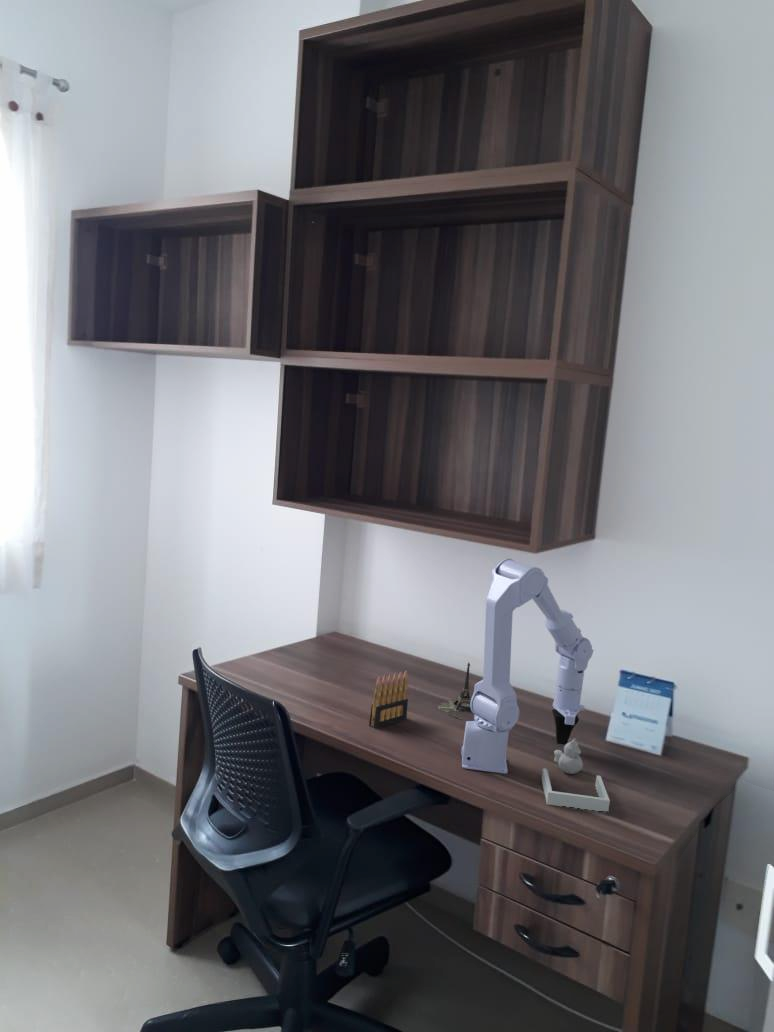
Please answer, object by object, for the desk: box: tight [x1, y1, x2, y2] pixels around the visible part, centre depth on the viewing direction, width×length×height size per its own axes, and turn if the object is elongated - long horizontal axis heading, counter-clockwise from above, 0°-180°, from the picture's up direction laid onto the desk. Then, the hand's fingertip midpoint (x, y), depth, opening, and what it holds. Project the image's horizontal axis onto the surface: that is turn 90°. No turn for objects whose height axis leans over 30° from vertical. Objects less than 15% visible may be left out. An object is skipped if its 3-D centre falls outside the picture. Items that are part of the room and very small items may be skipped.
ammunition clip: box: [368, 670, 409, 729], centre depth 191 cm, size 11×2×12 cm, turn 134°
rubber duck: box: [553, 737, 584, 775], centre depth 174 cm, size 5×7×8 cm
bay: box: [541, 767, 611, 812], centre depth 163 cm, size 12×11×2 cm
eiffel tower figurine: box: [437, 662, 474, 720], centre depth 205 cm, size 15×10×13 cm
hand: (561, 743), depth 185 cm, fingers closed
